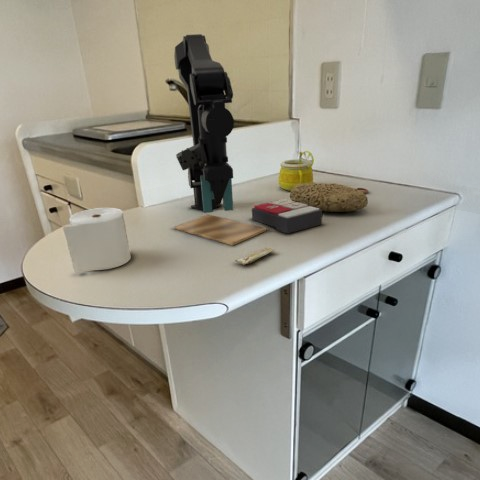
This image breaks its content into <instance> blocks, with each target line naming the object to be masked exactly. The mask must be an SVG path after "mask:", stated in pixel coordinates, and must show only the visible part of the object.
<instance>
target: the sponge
mask: <svg viewBox="0 0 480 480" xmlns="http://www.w3.org/2000/svg"><path fill="white" fill-rule="evenodd" d="M289 198H290V201H294V202H298V203H302V204H307V205H308V206H311V207H315V208H319V209H320V210H322V212H330V213H340V212H341V213H345V212H346V213H347V212H353V211H358V210H362V209H365V208H366V207H368V204H369V201H368V200H369V199H368V198H369V197H368V196H367V194H366V193H364V192H363V190H358V189H357V188H354V187H351V186H347V185H343V184H337V183H328V182H323V183H316V182H314V181H313V182H311V184H309V183H305V184H304V183H302V184H298V185H295V187H294V188H293V189H291V191H290V193H289Z"/></svg>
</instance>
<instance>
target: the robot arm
mask: <svg viewBox="0 0 480 480" xmlns="http://www.w3.org/2000/svg"><path fill="white" fill-rule="evenodd" d="M173 54H174V58H173V59H174V66H175V70H178V71H177V72H178V77H179V80H180V81H181V83H182V84H183V86H184V87H185V89H186V94H187V103H188V110H189V120H190V129H191V136H192V144H193V145H192V146H190V147H187V148H186V149H182V150H181V151H179V152H177V153H176V154H175V156H176V159H177V161H178V164H179V166H180V168H181V170H182V171H187V182H188V186H189V188H190V189H193V197H194V199H193V200H194V204H192V205H190V208H191V209H195V210H199V211H203V212H204V210H203V200H202V189H201V178H200V176H201V175H203V177H204V180H206V181H208V182H209V183H210V187H211V188H212V191H213V195H214V199H211V200H212V210H214V209H216V208H220V207H222V206H223V204H222V202H223V195H224V192H225V190H226V187H227V184H228V181H229V179H234V169H233V167H232V165H231V164H230V163H228V162H229V157H228V153H227V152H228V151H227V143H228V136H229V135H230V134H231V133H232V131H233V130H234V127H235V119H234V116H233V114H232V112H231V111H230V110H229V109H227V108H226V104H232V103H233V98H234V91H233V87H232V83H231V79H230V77H229V75H228V73H227V71H225V68H224V67H223V65H222V64H221V63H220V62H218V61H215V60H213V57H212V56H211V53H210V47H209V44H208V42H207V39H206V36H205V35H203V34H201V33H197V34H196V33H195V34H186V35H183V37H182V40H181V42H179V43H177V45H175V47H174V53H173Z"/></svg>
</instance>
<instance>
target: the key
mask: <svg viewBox="0 0 480 480" xmlns="http://www.w3.org/2000/svg"><path fill="white" fill-rule="evenodd" d="M356 189H358V190H361V191H363V192H364V193H365V194H367V193H369V190H368V189H367V188H364V187H357V188H356Z"/></svg>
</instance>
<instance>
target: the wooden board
mask: <svg viewBox="0 0 480 480" xmlns="http://www.w3.org/2000/svg"><path fill="white" fill-rule="evenodd" d="M174 229H175V230H178V231H180V232H185V233H188V234H190V235H191V234H192V235H195V236H199V237H202V238H205V239H209V240H213V241H215V242H219V243H223V244H227V245H229V246H234V245H237V244H239V243H242V242H244V241H247V240H249V239H251V238H254V237H256V236H257V235H260V234H262V233H265V232H266V231H267V228H265V227H262V226H257V225H253V224H249V223H245V222H240V221H237V220H233V219H228V218H225V217H220V216H216V215H211V214H206V215H204V216H200V217H198V218H195V219H193V220H189V221H187V222H184V223H181V224H178V225H175V226H174Z"/></svg>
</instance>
